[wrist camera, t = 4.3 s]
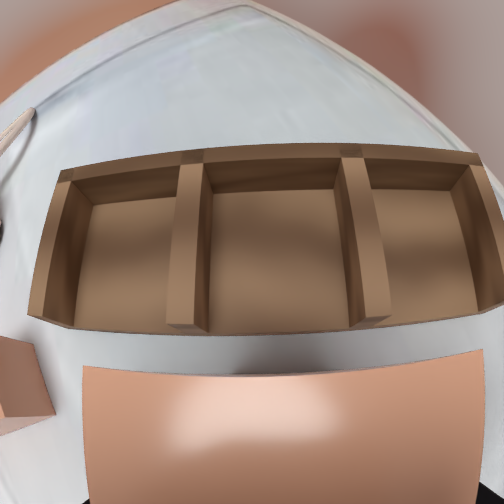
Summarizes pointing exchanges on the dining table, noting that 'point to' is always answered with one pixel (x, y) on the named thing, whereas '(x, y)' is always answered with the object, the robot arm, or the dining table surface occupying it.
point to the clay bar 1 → (21, 387)
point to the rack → (270, 241)
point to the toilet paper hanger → (15, 130)
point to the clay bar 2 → (287, 435)
